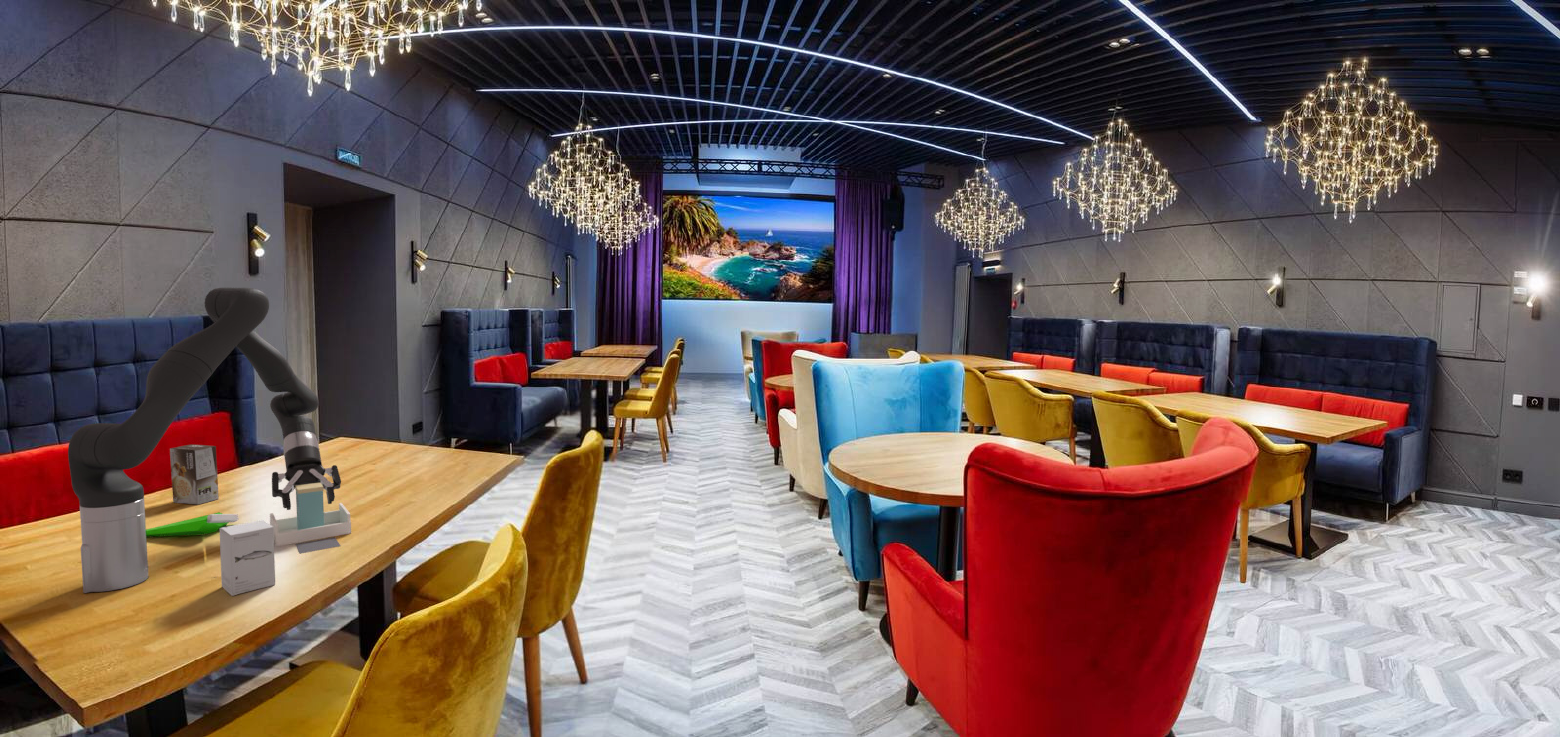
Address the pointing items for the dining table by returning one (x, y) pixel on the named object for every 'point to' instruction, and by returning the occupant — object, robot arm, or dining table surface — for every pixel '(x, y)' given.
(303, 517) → the tea tin
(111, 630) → the dining table surface
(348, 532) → the tote
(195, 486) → the coffee box
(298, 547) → the coaster
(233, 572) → the supplement box
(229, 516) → the green and white wedge
